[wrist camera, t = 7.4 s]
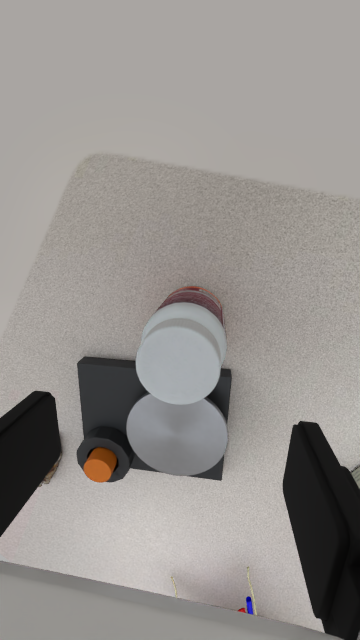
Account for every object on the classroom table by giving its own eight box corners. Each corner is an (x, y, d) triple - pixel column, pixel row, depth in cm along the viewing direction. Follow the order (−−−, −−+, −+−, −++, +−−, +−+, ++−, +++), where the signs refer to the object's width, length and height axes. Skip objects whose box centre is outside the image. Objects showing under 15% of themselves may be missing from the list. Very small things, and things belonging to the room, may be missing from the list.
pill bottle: (155, 292, 26) (112, 328, 15) (217, 278, 25) (216, 307, 14) (171, 349, 28) (141, 418, 17) (229, 338, 26) (238, 405, 16)
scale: (92, 454, 33) (78, 478, 30) (84, 356, 29) (67, 371, 26) (221, 471, 31) (221, 499, 28) (230, 369, 27) (232, 386, 24)
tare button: (91, 467, 30) (84, 480, 28) (90, 445, 29) (82, 457, 27) (117, 470, 29) (111, 484, 28) (116, 448, 28) (110, 461, 27)
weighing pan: (129, 464, 28) (127, 469, 28) (126, 381, 25) (124, 384, 25) (223, 477, 27) (223, 482, 27) (232, 391, 24) (232, 395, 24)
